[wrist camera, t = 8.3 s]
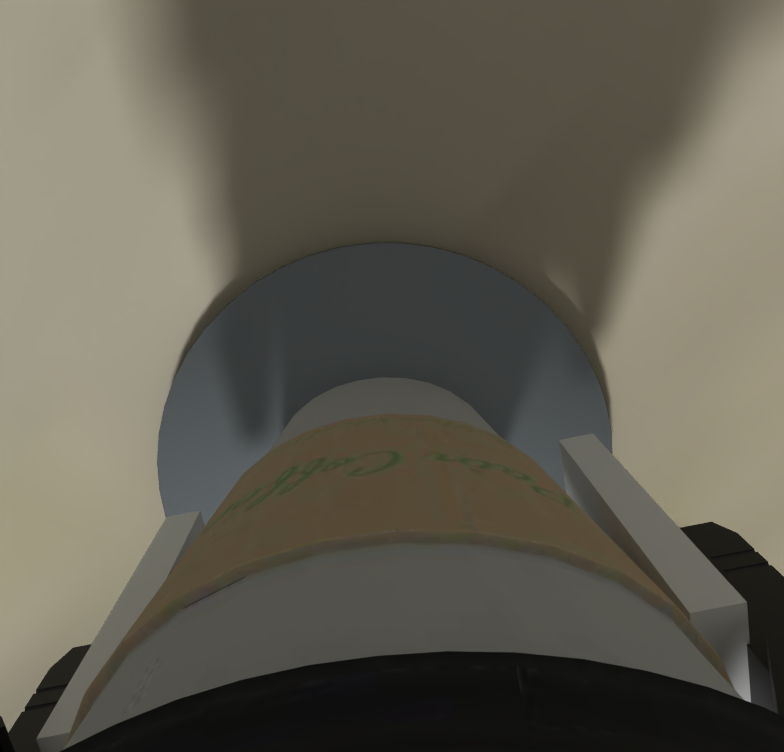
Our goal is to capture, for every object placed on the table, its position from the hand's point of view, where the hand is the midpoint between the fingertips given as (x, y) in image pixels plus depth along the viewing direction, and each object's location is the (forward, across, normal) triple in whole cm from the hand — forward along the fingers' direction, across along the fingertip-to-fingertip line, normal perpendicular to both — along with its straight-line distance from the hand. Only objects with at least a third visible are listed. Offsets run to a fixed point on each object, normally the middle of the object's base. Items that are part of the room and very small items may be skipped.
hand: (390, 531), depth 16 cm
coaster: (+4, 0, 0) cm, 4 cm away
